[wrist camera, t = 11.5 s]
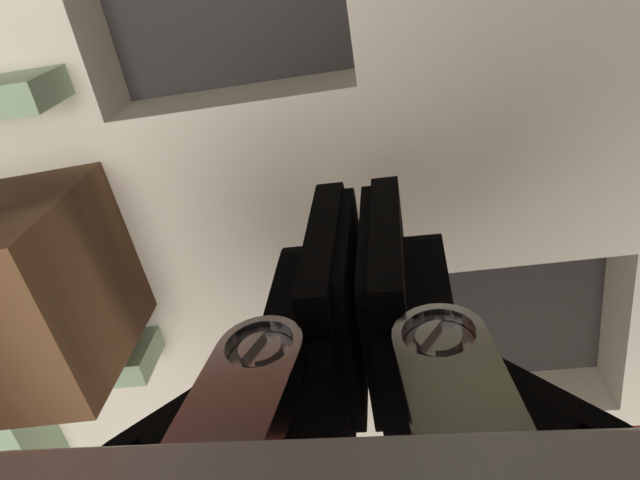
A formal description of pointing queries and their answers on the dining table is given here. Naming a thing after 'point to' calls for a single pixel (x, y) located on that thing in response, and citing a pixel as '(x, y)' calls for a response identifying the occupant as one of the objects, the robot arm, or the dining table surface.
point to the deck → (346, 163)
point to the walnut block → (65, 296)
